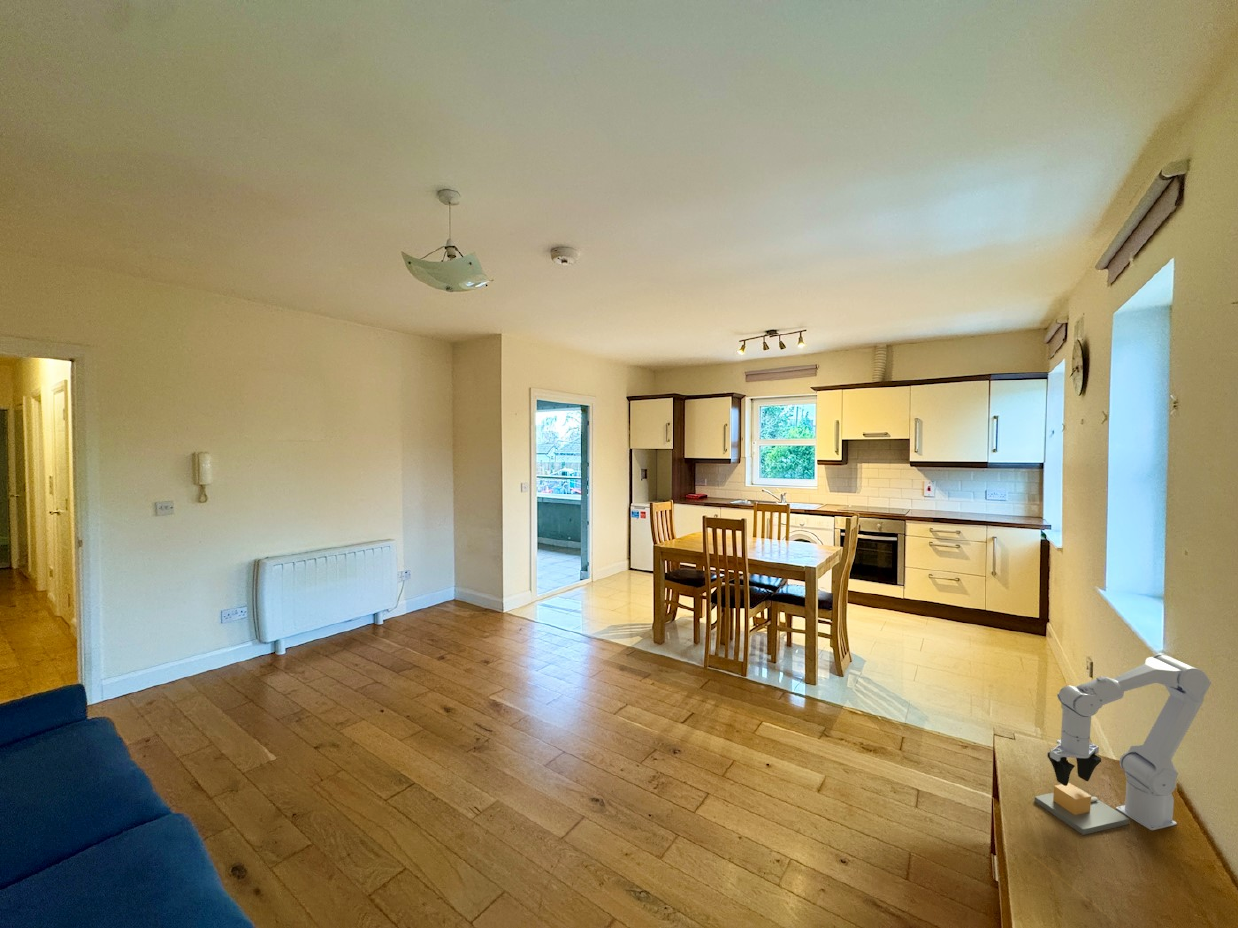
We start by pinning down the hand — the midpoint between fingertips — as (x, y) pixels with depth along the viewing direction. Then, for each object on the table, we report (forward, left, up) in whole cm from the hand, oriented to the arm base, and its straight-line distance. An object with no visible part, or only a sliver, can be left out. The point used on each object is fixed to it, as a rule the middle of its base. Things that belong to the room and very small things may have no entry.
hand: (1072, 780), depth 136 cm
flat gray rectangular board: (-2, +1, -9) cm, 9 cm away
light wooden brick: (0, 0, -7) cm, 7 cm away
